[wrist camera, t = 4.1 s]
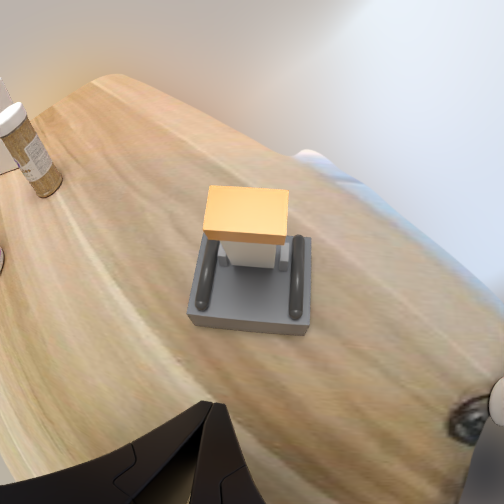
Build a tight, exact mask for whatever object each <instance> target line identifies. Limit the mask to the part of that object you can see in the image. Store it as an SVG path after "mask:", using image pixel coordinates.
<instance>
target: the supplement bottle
mask: <svg viewBox="0 0 504 504" xmlns="http://www.w3.org/2000/svg"><path fill="white" fill-rule="evenodd" d="M2 265H3V251H2V249H1V247H0V271H1V269H2Z"/></svg>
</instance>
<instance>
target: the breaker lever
mask: <svg viewBox="0 0 504 504" xmlns="http://www.w3.org/2000/svg"><path fill="white" fill-rule="evenodd" d="M288 195H289V190H279V189H265V188H250V187H232V186H210V187H209V193H208V199H207V205H206V211H205V217H204V224H203V231H204V233H205V234H206V236H207V238H208V239H209V240H219V241H220V243H221V245H222V247H223V249H224V251H225V253H226V255H227V257H228V259H229V260H230V262H231V264H232V265H237V266H249V267H261V268H274V263H275V254H276V245H284V244H285V239H286V230H287V213H288Z"/></svg>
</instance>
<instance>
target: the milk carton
mask: <svg viewBox="0 0 504 504" xmlns="http://www.w3.org/2000/svg"><path fill="white" fill-rule="evenodd" d="M12 104H14V103H13V102H12V99H11V97H10V95H9V93H8V91H7V89H6V87H5V85H4V83H3V81H2V78H0V113H1V112H2V111H4V110H5V109H6V108H8V107H9V106H11V105H12ZM16 168H19V167H18V165H17V164H16V162H15V161H14V159H13V158H12V156H11V154H10V152H9V151H8V149H7V147H6V146H5V144H4V143H3V141H2V139H0V174H3V173H5V172H8V171H11V170H13V169H16Z"/></svg>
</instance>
